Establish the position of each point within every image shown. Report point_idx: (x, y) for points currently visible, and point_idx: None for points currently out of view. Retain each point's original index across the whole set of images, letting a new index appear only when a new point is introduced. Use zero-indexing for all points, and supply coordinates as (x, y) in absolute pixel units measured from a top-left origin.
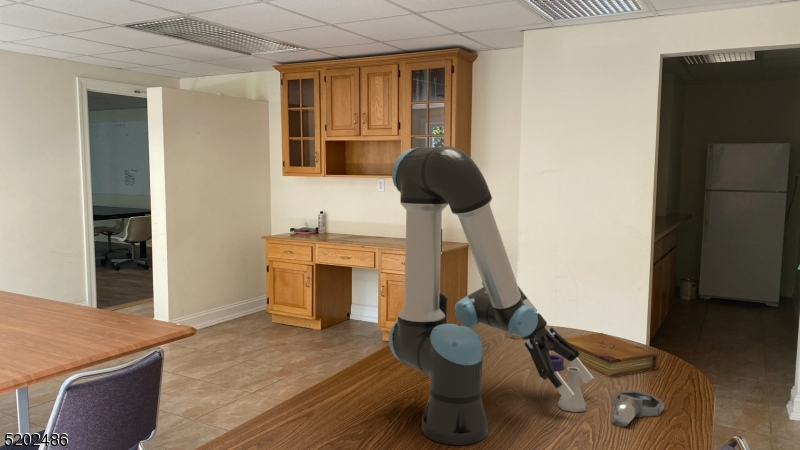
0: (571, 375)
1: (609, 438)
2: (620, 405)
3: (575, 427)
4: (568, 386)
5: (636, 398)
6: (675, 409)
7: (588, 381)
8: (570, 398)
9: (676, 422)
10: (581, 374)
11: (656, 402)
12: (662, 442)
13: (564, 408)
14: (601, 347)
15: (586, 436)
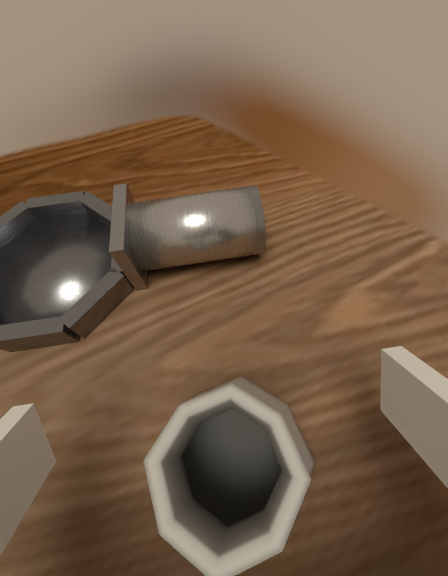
0: (278, 456)
1: (360, 224)
2: (230, 207)
3: (401, 328)
4: (425, 384)
5: (118, 200)
6: (19, 200)
7: (44, 438)
8: (291, 433)
9: (113, 171)
10: (5, 509)
11: (17, 225)
12: (258, 150)
13: (311, 455)
14: None
15: (419, 270)
